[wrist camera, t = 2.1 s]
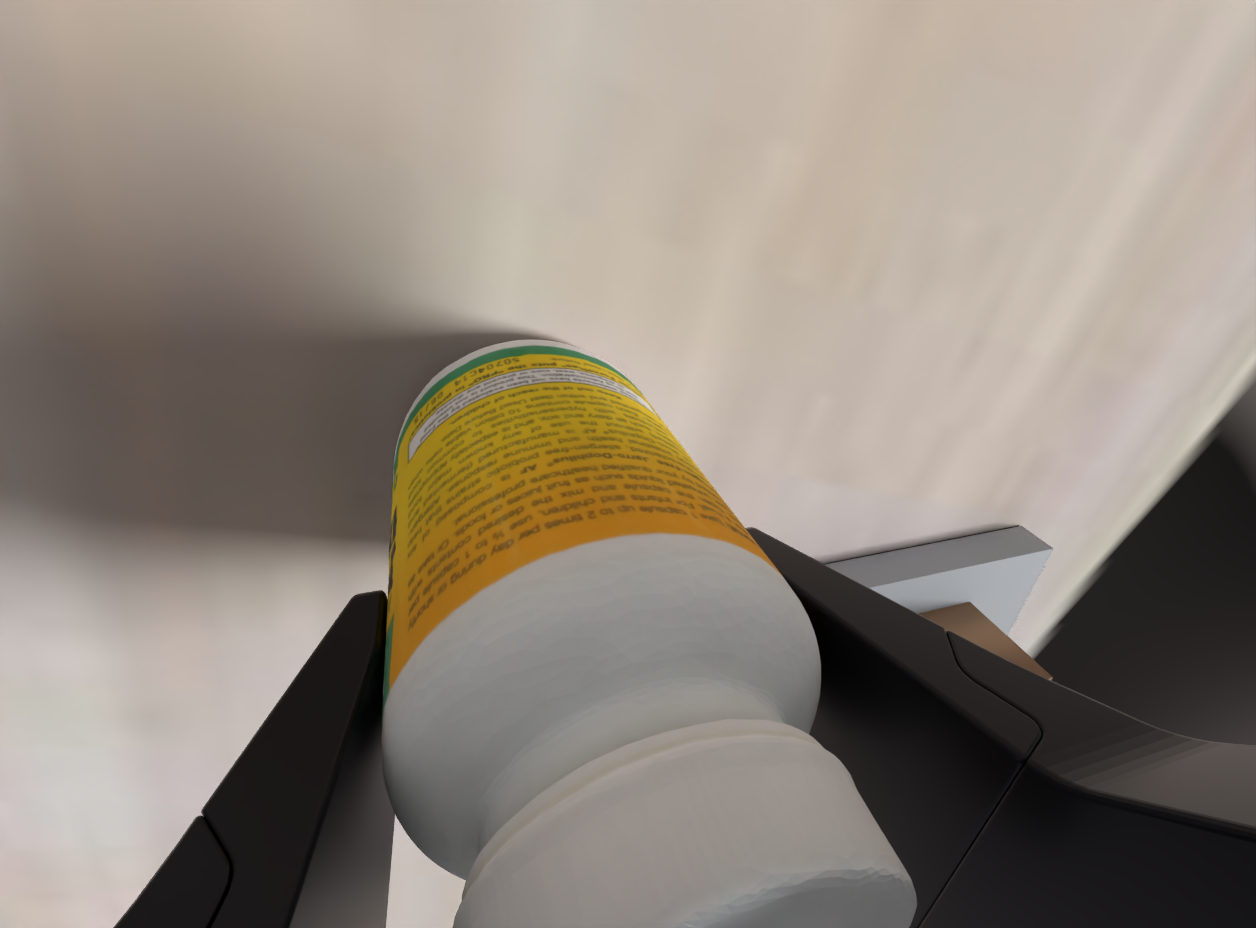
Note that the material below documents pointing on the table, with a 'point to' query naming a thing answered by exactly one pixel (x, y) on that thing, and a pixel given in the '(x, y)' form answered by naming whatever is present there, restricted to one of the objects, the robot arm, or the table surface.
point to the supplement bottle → (604, 673)
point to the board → (958, 573)
